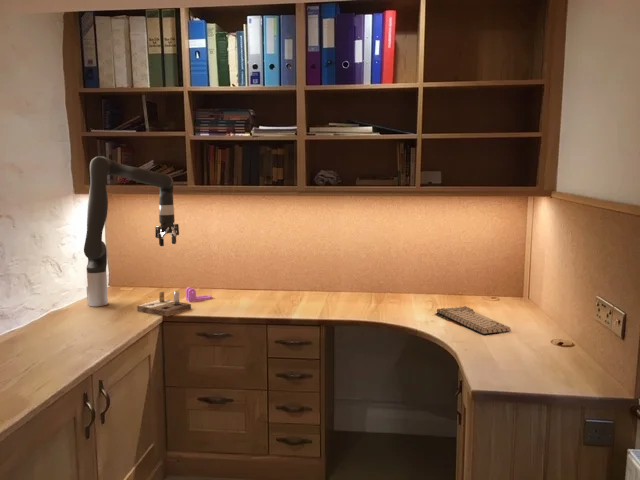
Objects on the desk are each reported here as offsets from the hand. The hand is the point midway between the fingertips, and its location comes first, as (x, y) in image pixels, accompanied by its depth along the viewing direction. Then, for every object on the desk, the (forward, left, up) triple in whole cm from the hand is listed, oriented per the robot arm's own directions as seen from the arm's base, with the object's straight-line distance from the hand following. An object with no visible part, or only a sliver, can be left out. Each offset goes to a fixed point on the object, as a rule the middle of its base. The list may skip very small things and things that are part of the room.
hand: (167, 245), depth 276 cm
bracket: (+10, +12, -30) cm, 34 cm away
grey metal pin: (+14, -9, -30) cm, 35 cm away
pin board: (+9, -13, -30) cm, 34 cm away
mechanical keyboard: (+147, +41, -31) cm, 156 cm away
